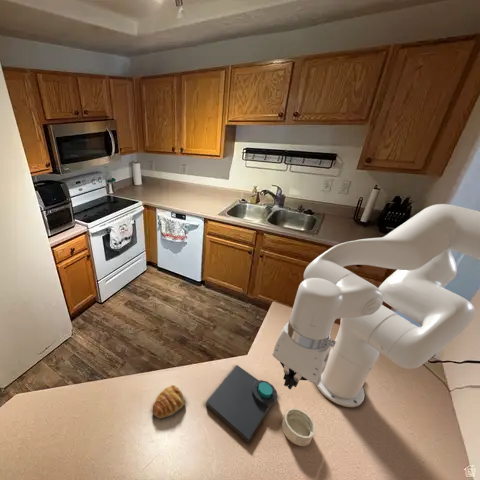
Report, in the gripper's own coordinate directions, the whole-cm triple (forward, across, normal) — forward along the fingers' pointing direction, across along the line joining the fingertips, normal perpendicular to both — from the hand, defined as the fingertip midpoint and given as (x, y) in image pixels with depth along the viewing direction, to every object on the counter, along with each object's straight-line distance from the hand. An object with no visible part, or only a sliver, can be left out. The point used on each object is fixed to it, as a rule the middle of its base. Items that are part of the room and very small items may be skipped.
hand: (289, 383), depth 64 cm
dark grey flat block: (+14, +9, +5) cm, 17 cm away
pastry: (+14, +22, +20) cm, 33 cm away
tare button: (+11, +5, -1) cm, 12 cm away
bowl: (+14, -5, +1) cm, 15 cm away
